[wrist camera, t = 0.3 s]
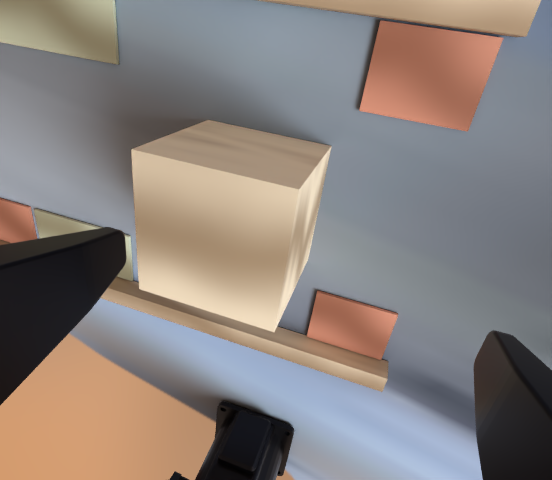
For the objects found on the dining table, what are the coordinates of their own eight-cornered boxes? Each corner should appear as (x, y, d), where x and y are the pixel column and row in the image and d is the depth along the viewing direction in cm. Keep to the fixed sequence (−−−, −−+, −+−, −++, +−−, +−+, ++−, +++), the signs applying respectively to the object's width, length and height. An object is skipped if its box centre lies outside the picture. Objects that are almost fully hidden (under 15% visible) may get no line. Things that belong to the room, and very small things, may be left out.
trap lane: (383, 374, 25) (382, 391, 24) (-3, 249, 31) (-20, 258, 30) (529, 2, 15) (541, -2, 14) (-90, -75, 21) (-122, -82, 20)
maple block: (308, 258, 23) (274, 332, 17) (204, 229, 24) (139, 289, 19) (331, 145, 20) (299, 189, 14) (209, 119, 21) (130, 149, 15)
